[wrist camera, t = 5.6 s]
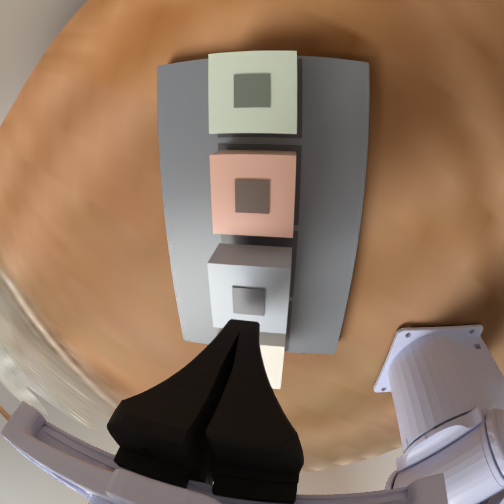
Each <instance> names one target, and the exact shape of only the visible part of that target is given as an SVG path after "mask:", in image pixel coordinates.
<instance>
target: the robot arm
mask: <svg viewBox="0 0 504 504" xmlns="http://www.w3.org/2000/svg"><path fill="white" fill-rule="evenodd" d="M482 331H483V326H482V325H465V326H447V327H417V328H401V329H399V330H398V331H397V332H396V335H395V338H394V340H393V343H392V346H391V348H390V351H389V353H388V356H387V358H386V360H385V363H384V365H383V367H382V370H381V372H380V374H379V377H378V379H377V381H376V383H375V385H374V391H375V392H392V396H393V400H394V405H395V410H396V414H397V419H398V424H399V430H400V435H401V441H402V447H403V453H404V454H403V455H402V456H400V457H399V458H397V459H396V465H397V470H396V471H394V472H393V473H392V474H391V475H390V477H389V478H388V481H387V483H386V486H385V490H381V491H373V492H365V493H353V494H335V495H296V492H297V484H298V481H299V473H300V471H301V468H302V466H303V464H304V456H303V450H302V447H301V443H300V440H299V437H298V434H297V432H296V431H295V429H294V428H293V426H292V425H291V423H290V422H289V420H288V419H287V417H286V415H285V414H284V412H283V410H282V408H281V406H280V404H279V402H278V400H277V398H276V396H275V394H274V392H273V390H272V387H271V385H270V382H269V379H268V377H267V374H266V370H265V367H264V363H263V359H262V355H261V349H260V343H259V336H260V324H259V323H258V322H255V321H245V320H236V319H230V320H229V321H228V322H227V323H226V325H225V326H224V327H223V329H222V330H221V331H220V332H219V334H218V335H217V336H216V337H215V338H214V339H213V340H212V341H211V343H210V344H209V345H208V346H207V347H206V348H205V349H204V350H203V351H202V352H201V353H200V354H199V355H198V356H197V357H196V358H194V359H193V360H192V361H191V362H190V363H189V364H188V365H186V366H185V367H184V368H182V369H181V370H180V371H178V372H177V373H176V374H174V375H173V376H171V377H170V378H168V379H167V380H165V381H163V382H162V383H160V384H158V385H156V386H154V387H153V388H151V389H149V390H147V391H145V392H143V393H140V394H138V395H135V396H133V397H130V398H128V399H125V400H122V401H121V403H120V404H119V405H118V407H117V408H116V410H115V411H114V413H113V415H112V417H111V418H110V420H109V422H108V424H107V429H108V431H109V433H110V434H111V436H112V437H113V438H114V440H115V441H116V442H117V443H118V445H119V446H120V448H119V450H118V452H117V454H116V456H115V455H113V454H110V453H108V452H106V451H103V450H101V449H99V448H97V447H94V446H92V445H90V444H88V443H86V442H84V441H82V440H80V439H78V438H76V437H74V436H72V435H70V434H68V433H67V432H65V431H63V430H61V429H59V428H57V427H56V426H54V425H52V424H51V423H49V422H47V421H46V420H45V418H44V417H43V416H42V415H41V413H40V412H38V411H37V410H36V409H34V408H33V407H31V406H30V405H28V404H27V403H25V402H22V403H21V404H20V405H19V407H18V408H17V410H16V411H15V412H14V414H13V415H12V416H11V418H10V419H9V421H8V422H7V424H6V425H5V427H4V428H3V429H2V431H1V432H0V433H1V435H2V436H3V437H4V438H5V439H6V440H7V441H8V442H9V443H10V444H11V445H12V446H13V447H15V448H16V449H17V450H18V451H19V452H20V453H21V454H22V455H23V456H25V457H26V458H27V459H28V460H30V461H31V462H32V463H34V464H35V465H36V466H38V467H39V468H41V469H42V470H44V471H45V472H46V473H48V474H49V475H51V476H52V477H54V478H56V479H57V480H58V481H60V482H61V483H63V484H65V485H66V486H68V487H70V488H71V489H73V490H75V491H76V492H78V493H80V494H81V495H83V496H85V497H87V498H89V499H90V501H89V503H88V504H504V377H503V375H502V373H501V371H500V369H499V367H498V365H497V364H496V362H495V360H494V358H493V356H492V355H491V353H490V351H489V350H488V348H487V346H486V344H485V343H484V341H483V339H482V338H481V336H480V335H481V333H482ZM407 333H408V334H407ZM213 482H214V484H213ZM212 484H213V485H212Z"/></svg>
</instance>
